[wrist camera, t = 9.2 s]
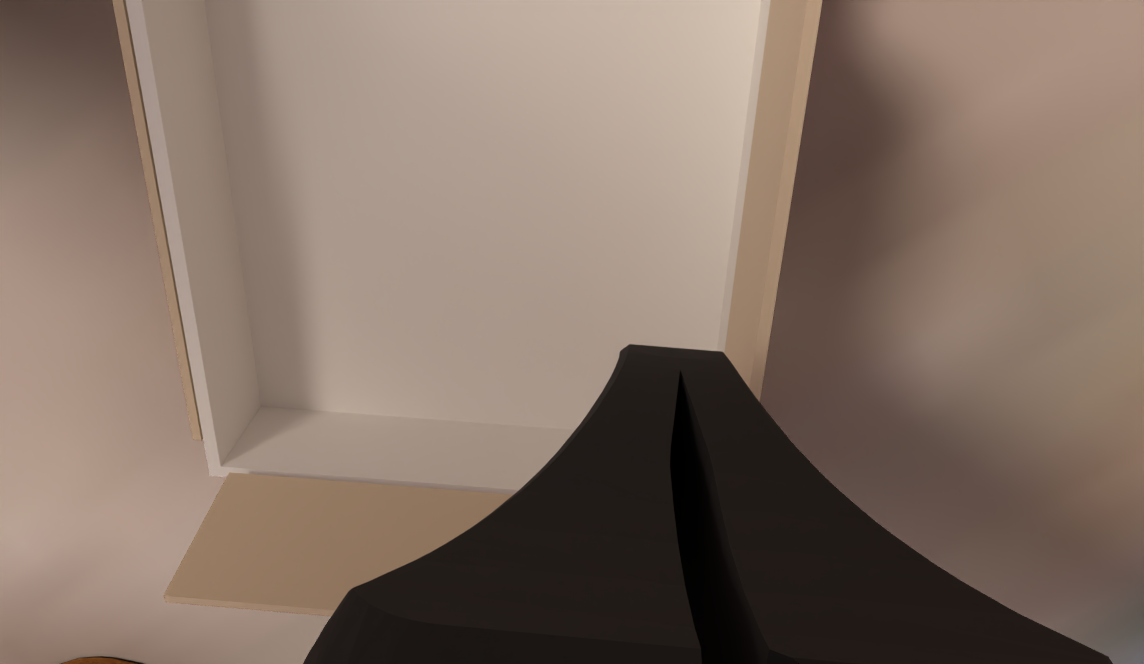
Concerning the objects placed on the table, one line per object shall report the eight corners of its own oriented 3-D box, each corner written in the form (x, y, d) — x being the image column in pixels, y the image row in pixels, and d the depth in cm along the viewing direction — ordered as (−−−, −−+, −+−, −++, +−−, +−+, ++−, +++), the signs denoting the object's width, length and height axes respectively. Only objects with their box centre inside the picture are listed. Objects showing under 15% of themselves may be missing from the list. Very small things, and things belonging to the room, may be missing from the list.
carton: (155, -221, 18) (70, -228, 16) (799, -194, 18) (825, -197, 15) (247, 406, 25) (199, 475, 22) (715, 441, 24) (722, 516, 22)
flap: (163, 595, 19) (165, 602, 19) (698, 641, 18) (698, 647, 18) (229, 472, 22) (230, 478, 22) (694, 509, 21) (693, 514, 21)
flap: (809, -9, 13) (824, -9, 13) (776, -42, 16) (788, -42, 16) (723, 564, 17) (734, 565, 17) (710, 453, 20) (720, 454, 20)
